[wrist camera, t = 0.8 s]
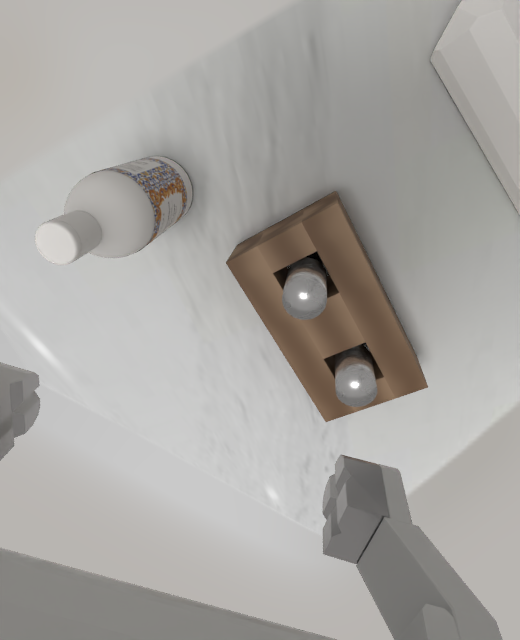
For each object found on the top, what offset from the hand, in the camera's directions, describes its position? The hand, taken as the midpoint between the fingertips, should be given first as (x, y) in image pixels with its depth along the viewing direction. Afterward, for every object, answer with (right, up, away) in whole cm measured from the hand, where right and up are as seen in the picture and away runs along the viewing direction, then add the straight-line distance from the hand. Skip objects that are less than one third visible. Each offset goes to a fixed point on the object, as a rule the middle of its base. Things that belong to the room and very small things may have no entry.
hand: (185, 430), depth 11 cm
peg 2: (+12, -1, +34) cm, 37 cm away
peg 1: (+7, +7, +31) cm, 32 cm away
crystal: (+26, +20, +26) cm, 42 cm away
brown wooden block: (+10, +5, +36) cm, 38 cm away
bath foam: (-9, +17, +33) cm, 38 cm away
